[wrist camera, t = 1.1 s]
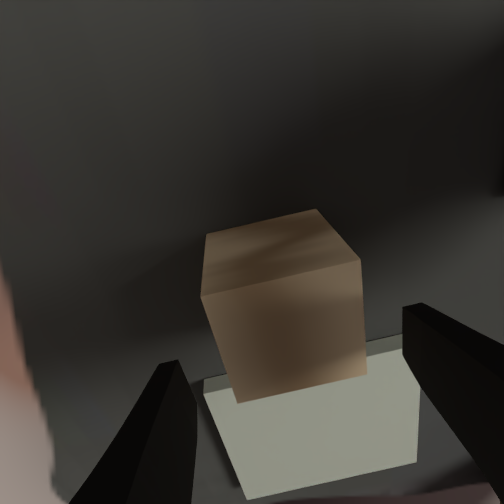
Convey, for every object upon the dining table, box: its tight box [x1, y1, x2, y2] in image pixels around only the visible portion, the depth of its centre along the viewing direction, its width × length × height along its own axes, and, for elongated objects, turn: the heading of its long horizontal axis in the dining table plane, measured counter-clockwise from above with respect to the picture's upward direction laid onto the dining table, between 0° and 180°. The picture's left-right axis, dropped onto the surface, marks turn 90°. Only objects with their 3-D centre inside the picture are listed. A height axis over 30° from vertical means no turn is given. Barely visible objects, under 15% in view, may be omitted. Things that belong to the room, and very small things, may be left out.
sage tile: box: [203, 334, 420, 500], centre depth 20 cm, size 12×11×1 cm
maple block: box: [200, 209, 367, 404], centre depth 13 cm, size 5×5×5 cm
